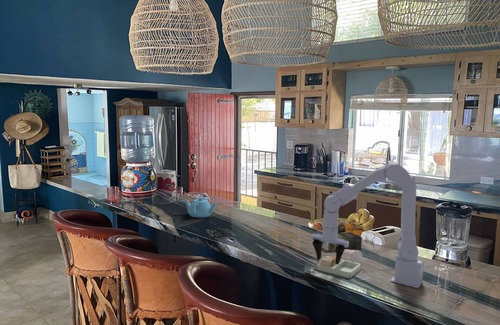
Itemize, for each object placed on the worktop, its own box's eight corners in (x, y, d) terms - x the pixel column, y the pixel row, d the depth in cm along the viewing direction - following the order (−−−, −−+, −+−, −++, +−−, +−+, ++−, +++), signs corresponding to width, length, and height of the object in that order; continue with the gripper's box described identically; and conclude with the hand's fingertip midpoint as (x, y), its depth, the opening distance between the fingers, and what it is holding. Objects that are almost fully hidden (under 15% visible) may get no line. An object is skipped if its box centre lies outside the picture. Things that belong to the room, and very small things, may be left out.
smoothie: (342, 242, 165) (370, 250, 154) (344, 256, 167) (373, 264, 156) (332, 249, 162) (360, 257, 151) (335, 263, 163) (363, 272, 152)
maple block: (329, 271, 147) (330, 261, 147) (319, 269, 150) (320, 259, 149) (333, 268, 151) (334, 258, 150) (324, 266, 153) (324, 256, 152)
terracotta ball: (338, 264, 155) (339, 256, 155) (335, 267, 152) (335, 258, 152) (330, 262, 157) (330, 254, 157) (326, 265, 154) (327, 256, 154)
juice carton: (326, 253, 171) (327, 240, 171) (313, 247, 180) (314, 234, 180) (361, 249, 180) (363, 236, 179) (348, 243, 189) (349, 231, 188)
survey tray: (360, 271, 152) (361, 264, 152) (349, 280, 142) (350, 273, 142) (327, 262, 160) (327, 255, 159) (314, 270, 150) (315, 263, 150)
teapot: (183, 213, 232) (183, 195, 231) (207, 211, 239) (207, 194, 238) (191, 219, 219) (192, 200, 218) (216, 217, 226) (217, 199, 225)
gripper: (352, 228, 148) (349, 263, 149) (317, 221, 156) (315, 254, 158) (345, 232, 142) (343, 268, 144) (309, 224, 150) (307, 258, 152)
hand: (328, 261), depth 150 cm, fingers open, 7 cm apart
